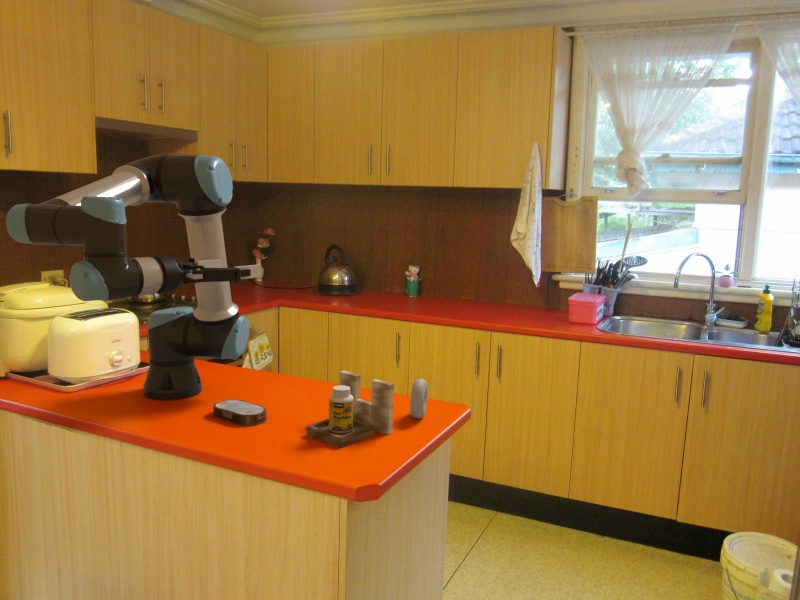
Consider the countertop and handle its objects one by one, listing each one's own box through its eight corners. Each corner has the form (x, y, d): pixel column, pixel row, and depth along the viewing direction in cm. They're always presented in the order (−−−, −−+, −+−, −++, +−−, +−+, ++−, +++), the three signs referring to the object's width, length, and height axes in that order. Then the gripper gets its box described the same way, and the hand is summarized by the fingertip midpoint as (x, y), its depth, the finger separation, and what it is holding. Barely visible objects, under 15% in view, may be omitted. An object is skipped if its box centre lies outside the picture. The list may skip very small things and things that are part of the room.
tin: (249, 428, 154) (274, 420, 161) (249, 415, 154) (274, 408, 161) (205, 415, 162) (231, 408, 169) (206, 402, 162) (231, 396, 169)
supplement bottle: (329, 435, 148) (330, 391, 147) (327, 426, 154) (328, 384, 152) (354, 434, 149) (355, 390, 148) (351, 425, 155) (352, 383, 153)
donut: (422, 424, 160) (423, 385, 158) (408, 423, 160) (409, 384, 159) (428, 411, 170) (429, 374, 168) (414, 410, 170) (416, 373, 169)
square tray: (306, 435, 151) (306, 426, 151) (339, 423, 159) (340, 414, 159) (341, 447, 144) (341, 438, 144) (374, 434, 153) (374, 425, 152)
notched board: (339, 418, 163) (339, 371, 161) (343, 417, 164) (343, 370, 162) (388, 434, 153) (389, 384, 151) (392, 432, 154) (393, 383, 152)
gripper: (122, 287, 140) (207, 278, 156) (190, 301, 125) (276, 290, 141) (120, 252, 139) (206, 247, 155) (189, 262, 123) (276, 256, 140)
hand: (239, 268), depth 148 cm, fingers open, 13 cm apart
